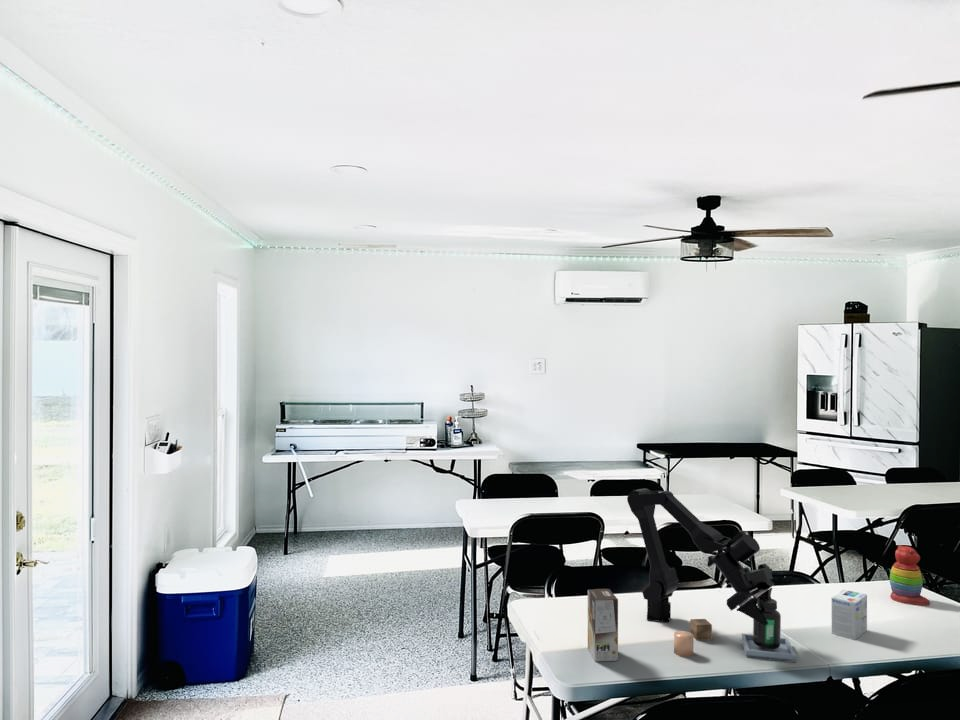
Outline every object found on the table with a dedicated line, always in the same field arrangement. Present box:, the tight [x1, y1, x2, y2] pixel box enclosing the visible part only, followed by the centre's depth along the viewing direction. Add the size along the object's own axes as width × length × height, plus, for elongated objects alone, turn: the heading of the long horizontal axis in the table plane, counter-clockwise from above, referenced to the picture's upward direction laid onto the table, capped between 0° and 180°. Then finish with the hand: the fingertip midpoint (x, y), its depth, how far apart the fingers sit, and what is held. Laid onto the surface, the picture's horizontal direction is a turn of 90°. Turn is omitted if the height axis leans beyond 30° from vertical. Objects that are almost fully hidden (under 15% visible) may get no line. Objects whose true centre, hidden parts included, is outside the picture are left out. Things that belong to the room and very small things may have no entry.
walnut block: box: [689, 618, 713, 641], centre depth 196 cm, size 4×4×4 cm
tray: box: [741, 633, 796, 663], centre depth 187 cm, size 12×12×2 cm
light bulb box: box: [831, 589, 868, 641], centre depth 200 cm, size 11×7×11 cm, turn 134°
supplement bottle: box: [752, 597, 782, 649], centre depth 187 cm, size 7×7×12 cm
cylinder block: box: [673, 630, 694, 658], centre depth 185 cm, size 5×5×5 cm
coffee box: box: [587, 588, 619, 662], centre depth 183 cm, size 9×6×16 cm
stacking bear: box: [889, 544, 931, 606], centre depth 229 cm, size 11×10×18 cm
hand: (771, 621), depth 186 cm, fingers closed on supplement bottle, 7 cm apart
